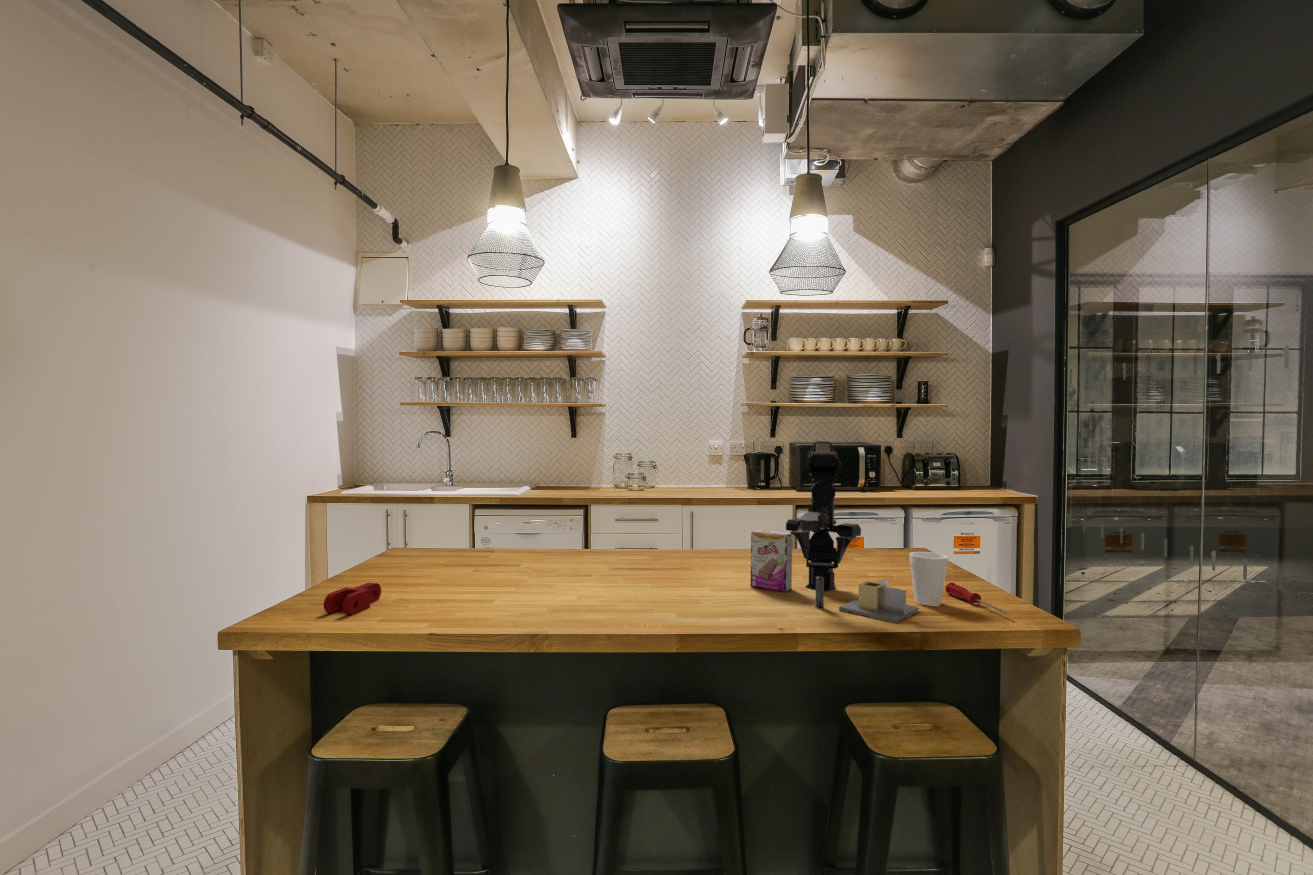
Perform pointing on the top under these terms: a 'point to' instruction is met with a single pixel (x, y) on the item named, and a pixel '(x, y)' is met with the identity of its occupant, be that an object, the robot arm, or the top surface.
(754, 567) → the candy bar box
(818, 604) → the hinge pin
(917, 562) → the foam cup
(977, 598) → the screwdriver
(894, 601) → the hinge
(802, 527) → the robot arm
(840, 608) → the base plate
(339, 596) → the mechanical linkage
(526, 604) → the top surface
